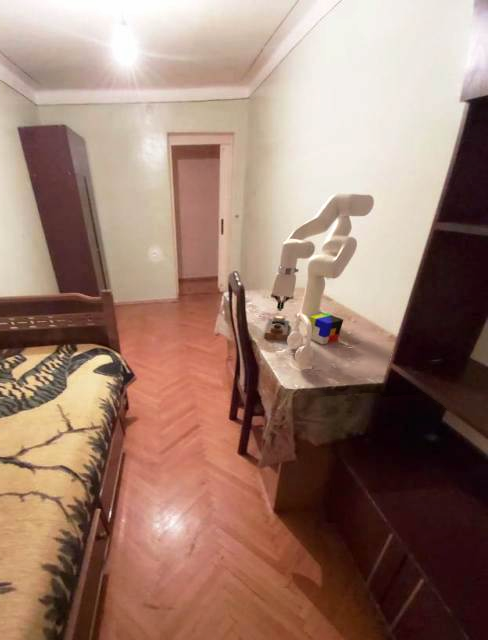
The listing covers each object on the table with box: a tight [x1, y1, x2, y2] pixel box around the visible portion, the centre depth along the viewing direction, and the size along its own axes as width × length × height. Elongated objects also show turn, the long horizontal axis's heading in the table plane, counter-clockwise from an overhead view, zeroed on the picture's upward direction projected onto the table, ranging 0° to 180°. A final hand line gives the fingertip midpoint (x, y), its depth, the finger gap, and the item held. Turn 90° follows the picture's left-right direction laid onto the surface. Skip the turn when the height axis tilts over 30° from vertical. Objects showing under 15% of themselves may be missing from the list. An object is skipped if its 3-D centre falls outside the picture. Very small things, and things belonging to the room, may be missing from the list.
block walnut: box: [264, 324, 289, 342], centre depth 152 cm, size 10×10×4 cm
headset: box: [286, 314, 314, 370], centre depth 127 cm, size 20×7×18 cm, turn 176°
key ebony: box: [274, 323, 281, 328], centre depth 150 cm, size 3×3×2 cm
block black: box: [267, 316, 290, 328], centre depth 161 cm, size 10×10×4 cm
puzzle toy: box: [305, 312, 344, 345], centre depth 147 cm, size 10×10×10 cm
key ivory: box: [275, 315, 284, 321], centre depth 160 cm, size 3×3×2 cm
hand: (279, 310), depth 157 cm, fingers closed
